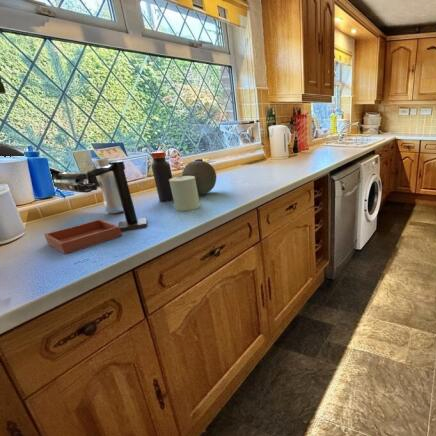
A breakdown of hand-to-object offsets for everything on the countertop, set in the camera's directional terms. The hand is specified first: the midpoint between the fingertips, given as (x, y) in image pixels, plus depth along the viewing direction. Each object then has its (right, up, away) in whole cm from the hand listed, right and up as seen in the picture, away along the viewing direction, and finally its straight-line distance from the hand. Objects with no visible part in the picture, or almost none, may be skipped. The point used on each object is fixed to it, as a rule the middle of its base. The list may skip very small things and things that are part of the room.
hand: (107, 184), depth 111 cm
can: (+26, -8, +7) cm, 28 cm away
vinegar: (+12, -4, +19) cm, 23 cm away
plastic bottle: (+1, -10, +4) cm, 11 cm away
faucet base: (+17, -15, -11) cm, 25 cm away
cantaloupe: (+25, -2, +25) cm, 35 cm away
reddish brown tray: (+9, -19, -21) cm, 30 cm away
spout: (+17, -1, -23) cm, 28 cm away
